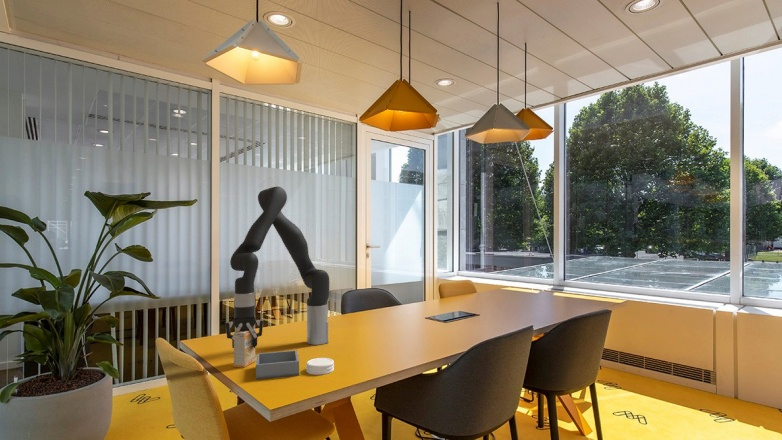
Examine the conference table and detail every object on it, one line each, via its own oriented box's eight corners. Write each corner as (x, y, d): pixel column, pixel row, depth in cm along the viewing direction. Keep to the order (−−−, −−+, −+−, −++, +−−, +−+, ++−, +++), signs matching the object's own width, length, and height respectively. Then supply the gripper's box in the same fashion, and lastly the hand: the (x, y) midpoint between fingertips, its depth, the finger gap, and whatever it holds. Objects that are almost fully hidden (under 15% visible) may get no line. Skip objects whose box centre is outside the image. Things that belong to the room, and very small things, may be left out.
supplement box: (245, 368, 162) (244, 332, 162) (233, 367, 163) (233, 332, 163) (256, 361, 170) (255, 327, 171) (245, 360, 171) (244, 327, 172)
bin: (296, 363, 167) (296, 350, 167) (299, 375, 153) (299, 361, 153) (257, 366, 163) (257, 353, 164) (255, 379, 149) (255, 365, 149)
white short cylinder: (309, 377, 152) (309, 367, 152) (303, 369, 161) (303, 359, 161) (337, 373, 156) (337, 363, 156) (329, 365, 165) (329, 356, 165)
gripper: (264, 302, 173) (264, 344, 172) (225, 304, 169) (226, 347, 169) (263, 305, 165) (264, 349, 165) (223, 307, 162) (223, 352, 161)
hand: (244, 348), depth 167 cm, fingers closed on supplement box, 6 cm apart
